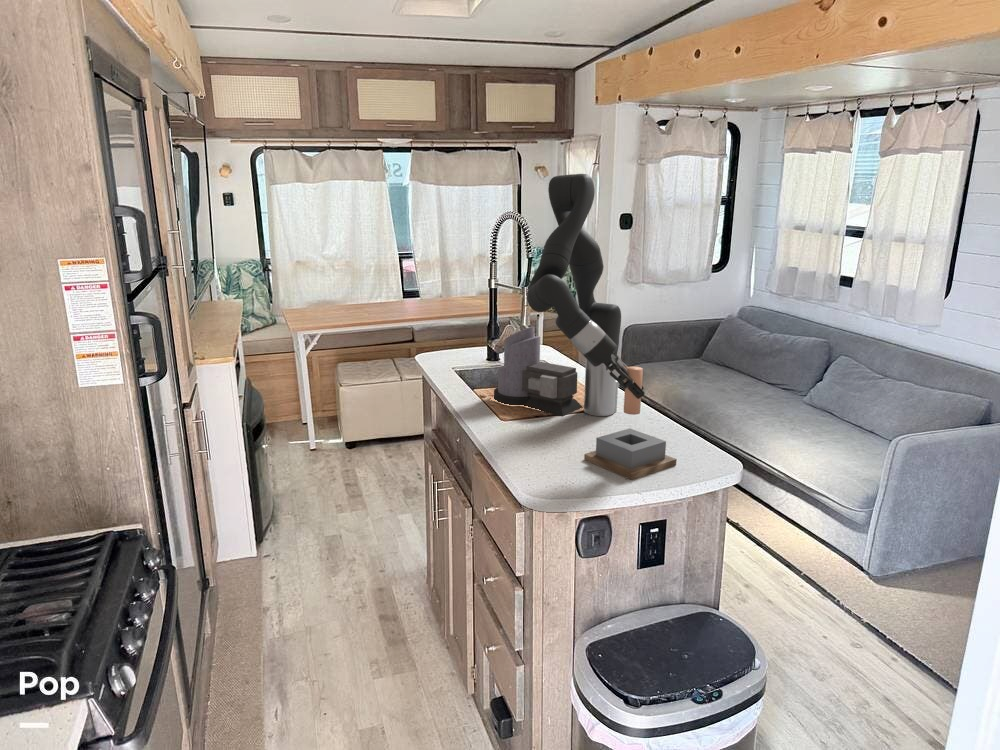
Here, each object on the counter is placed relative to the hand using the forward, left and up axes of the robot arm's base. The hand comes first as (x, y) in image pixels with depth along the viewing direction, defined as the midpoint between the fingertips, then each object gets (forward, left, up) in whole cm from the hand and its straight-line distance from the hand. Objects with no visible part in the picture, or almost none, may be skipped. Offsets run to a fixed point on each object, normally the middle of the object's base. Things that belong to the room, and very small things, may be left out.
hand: (641, 393), depth 173 cm
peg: (+1, -1, -5) cm, 5 cm away
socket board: (+1, -1, -18) cm, 18 cm away
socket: (+1, -1, -16) cm, 17 cm away
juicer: (-12, -54, -18) cm, 59 cm away
